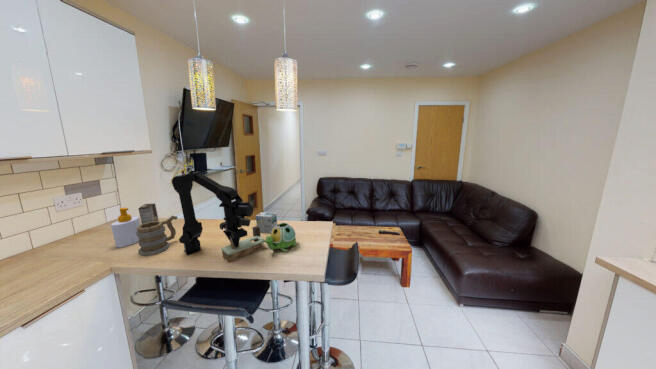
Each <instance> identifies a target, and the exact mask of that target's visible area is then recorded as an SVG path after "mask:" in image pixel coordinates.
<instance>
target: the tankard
mask: <svg viewBox="0 0 656 369" xmlns="http://www.w3.org/2000/svg"><path fill="white" fill-rule="evenodd" d="M177 219H178V215H177V216H176V215H175V216H174V215H171V216H170V217H168V218H167V219H165V220H162V221H160V220H159V221H152V222H147V223H144V224H142V223H140V224H141V225H139V226H138V227H137V232H136V235H137V237H139V241H138V242H137V243H138V246H140V248H139V249H138V254H140V256H141V255H142V256H152V255H153V254H154V255H156V254H160V253H162V252H164V251H166V250H167V249H168V248H169V247H170V246H171V243H170V242H169V241H171V240H173V239H175V236H176V229H175V227H174V226H173V222H172V221H174V220H177ZM164 225H166V226H167V228H168V230H169V231H170V235H169V236H167V234H165V231H166V226H164Z"/></svg>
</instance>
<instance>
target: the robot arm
mask: <svg viewBox="0 0 656 369" xmlns="http://www.w3.org/2000/svg"><path fill="white" fill-rule="evenodd" d="M193 182H194V183H196V184H198V185H200V186H201V187H203V188H205V189H206V190H208V191H209V192H211V193H213V194H214V195H215V197H216V199H218V200H219V201H220V204H219V205H218V207H220V208H223V213H224V217H223V220H224V222H220V223H219V229H220V230H221V231H222V233H224V235H225V236H226V238H227V239H228V241H229V242H230V238H231V240H232V242H233V244H234V245H235V247H238V244H239V242H240V241H241V240H240V239H242V238H243V237H248V235H249V234H248V230H246V229H244V228H243V227H250V224H251V219H249V218H250V217H252V216H253V213H254V207H253V205H252V204H251V202H250V201H244V200H243V199H242V197H241V196H240V195H239V194H238V191H237V189H235V188H232V187H230V186H228V185H222V184H220V183H218V182H217V181H215V180H213V179H211V178H210V177H208V176H207V175H205V174H204V173H202V172H201V171H195V172H191V173H189V174H187V173H185V174H179V175H175V176H173V177H172V178H171V185H172V188H173V190H175V192H176V193H177V194H178V195H179V196H178V197H179V200H180V207H181V211H182V215H183V220H184V221H183V222H184V223H183V226H182V235H181V236H180V237H179V238H178V241H179V243H180V244H183V248H184V249H183V252H184V253H185V254H186V256H188V255H192V254H195V253H198V252H201V251H202V247H201V241H200V240H199V238H200V237H201V236H202V233H203V230H204V228H203V224H202V222H201V221H200V222H199V221H198V220H197V219H196V217H197V216H196V214H195V209H194V208H195V207H194V202H193V198H192V193H191V192H192V189H193V187H194V184H193Z"/></svg>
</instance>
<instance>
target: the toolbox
mask: <svg viewBox="0 0 656 369" xmlns="http://www.w3.org/2000/svg"><path fill="white" fill-rule="evenodd" d="M263 248H265V247H264V243H261V244H258V245H255V246H252V247H250V248H247V249H244V250H242V251H239V252H236V253H234V254H231V255H227V254H226V253H225V252H224V251H222V250H221V254H222V257H223V258H224V259H225V260H226V261H228V262H229V263H231V262H232V261H235V260H237V259H241V258H243V257H245V256H248V255H250V254H251V255H252V254H254V253H256V251H259V250H261V249H263Z"/></svg>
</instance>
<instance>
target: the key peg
mask: <svg viewBox="0 0 656 369" xmlns="http://www.w3.org/2000/svg"><path fill="white" fill-rule="evenodd" d="M252 235H253V236H252V237H254V236H257V235H258V236H259V237H261V232H260V227H258V226H257V225H255V226H253V227H252ZM256 241H259V240H258V239H255V240H253V242H256Z"/></svg>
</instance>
